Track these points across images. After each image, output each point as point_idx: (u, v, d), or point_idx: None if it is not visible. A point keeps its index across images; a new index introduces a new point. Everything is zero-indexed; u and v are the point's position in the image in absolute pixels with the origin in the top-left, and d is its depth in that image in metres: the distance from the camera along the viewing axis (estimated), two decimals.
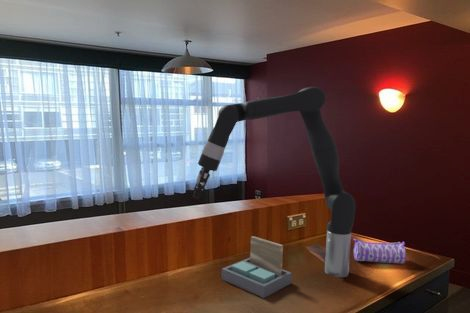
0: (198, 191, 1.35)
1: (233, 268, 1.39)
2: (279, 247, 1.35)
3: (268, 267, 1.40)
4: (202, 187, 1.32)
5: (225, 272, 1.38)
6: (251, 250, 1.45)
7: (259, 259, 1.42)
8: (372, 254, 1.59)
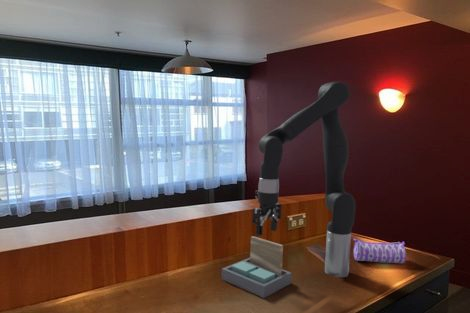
0: None
1: (233, 268, 1.39)
2: (279, 247, 1.35)
3: (268, 267, 1.40)
4: (256, 223, 1.34)
5: (225, 272, 1.38)
6: (251, 250, 1.45)
7: (259, 259, 1.42)
8: (371, 254, 1.59)
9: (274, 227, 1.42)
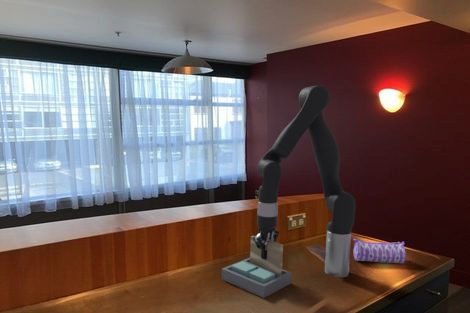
0: None
1: (233, 268, 1.39)
2: (279, 246, 1.35)
3: (268, 266, 1.40)
4: (261, 247, 1.37)
5: (225, 272, 1.38)
6: (251, 250, 1.45)
7: (259, 259, 1.42)
8: (372, 254, 1.59)
9: None
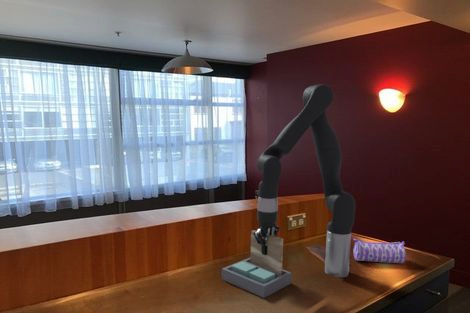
0: None
1: (233, 268, 1.39)
2: (279, 241, 1.35)
3: (268, 260, 1.39)
4: (261, 243, 1.37)
5: (225, 272, 1.38)
6: (251, 244, 1.45)
7: (259, 253, 1.42)
8: (371, 254, 1.59)
9: None
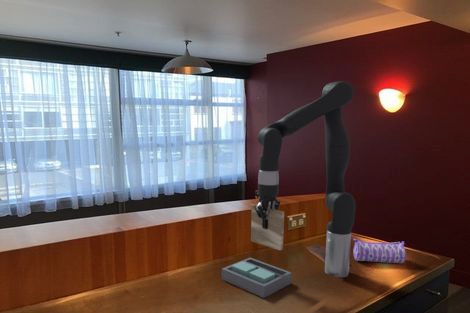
0: None
1: (233, 268, 1.39)
2: (280, 213, 1.34)
3: (269, 234, 1.38)
4: (262, 216, 1.36)
5: (225, 272, 1.38)
6: (252, 219, 1.43)
7: (260, 227, 1.41)
8: (371, 254, 1.59)
9: None
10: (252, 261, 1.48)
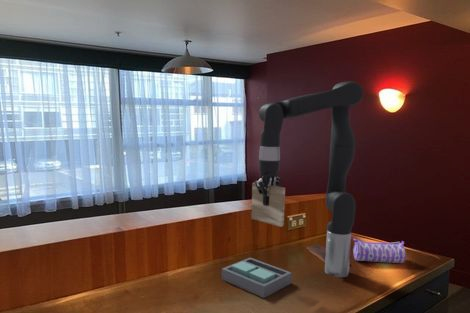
0: None
1: (233, 268, 1.39)
2: (281, 189, 1.33)
3: (270, 211, 1.37)
4: (262, 193, 1.35)
5: (225, 272, 1.38)
6: (253, 196, 1.42)
7: (260, 205, 1.40)
8: (371, 254, 1.59)
9: None
10: (252, 261, 1.48)
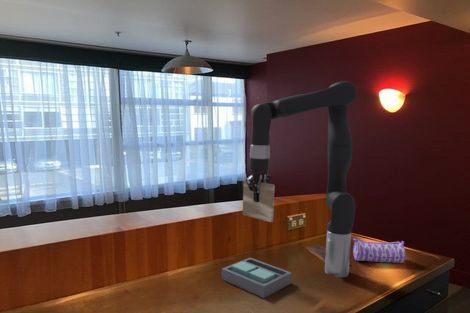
0: None
1: (233, 268, 1.39)
2: (271, 186, 1.38)
3: (260, 207, 1.43)
4: (253, 189, 1.41)
5: (225, 272, 1.38)
6: (244, 193, 1.48)
7: (251, 201, 1.45)
8: (371, 254, 1.59)
9: None
10: (252, 261, 1.48)
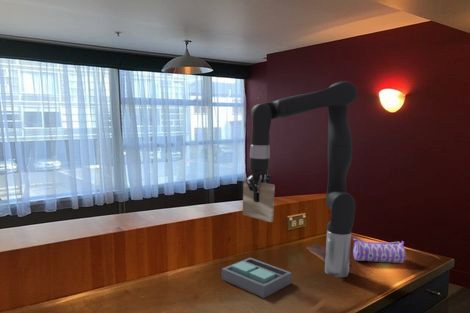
0: None
1: (233, 268, 1.39)
2: (271, 186, 1.38)
3: (260, 207, 1.43)
4: (253, 189, 1.41)
5: (225, 272, 1.38)
6: (244, 193, 1.48)
7: (251, 201, 1.45)
8: (371, 254, 1.59)
9: None
10: (252, 261, 1.48)
